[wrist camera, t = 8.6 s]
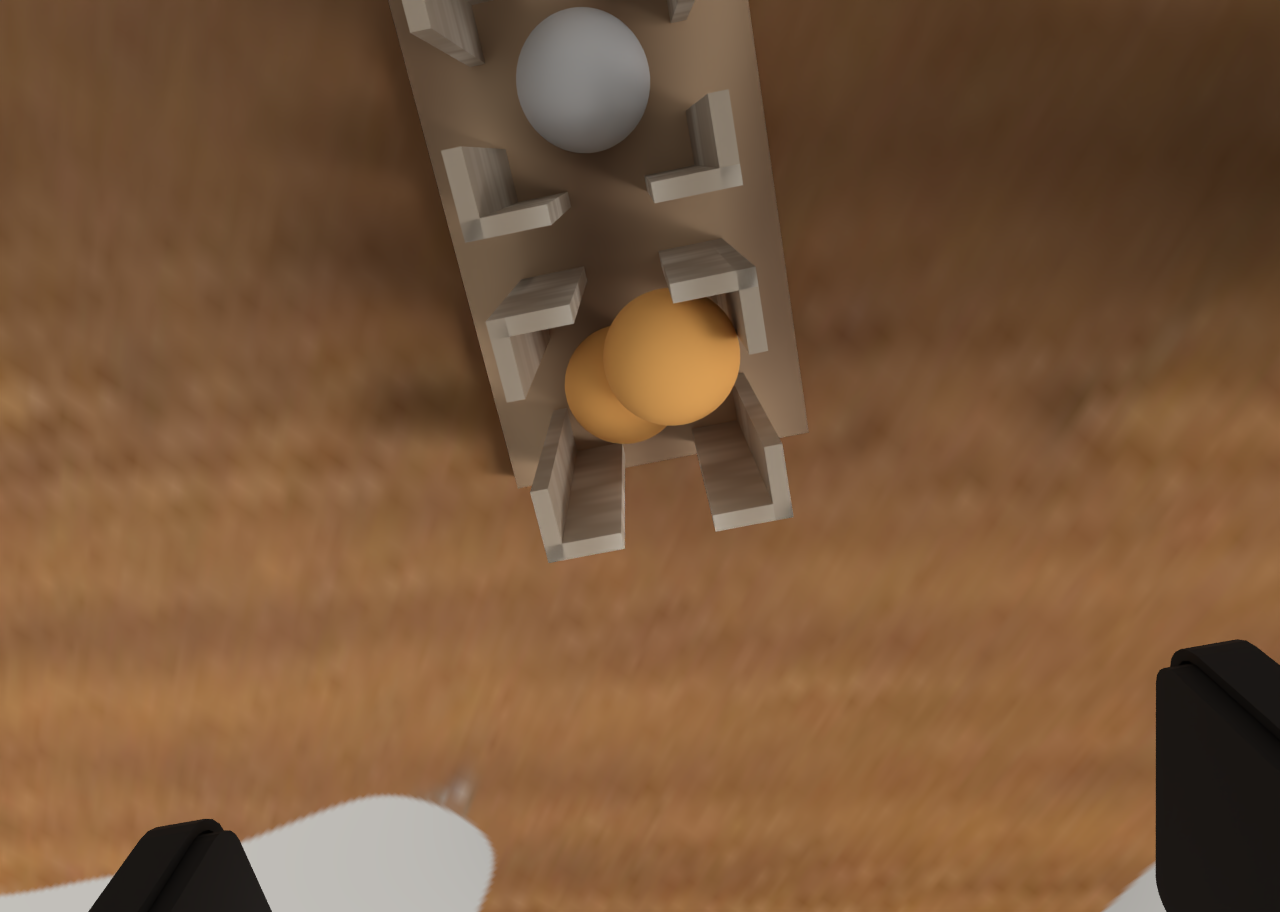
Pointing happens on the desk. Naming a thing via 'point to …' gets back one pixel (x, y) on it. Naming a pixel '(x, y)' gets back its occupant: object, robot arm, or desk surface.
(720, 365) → the orange ball
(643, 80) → the grey ball
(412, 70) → the ball rack
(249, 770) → the desk surface
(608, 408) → the seated orange ball
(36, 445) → the desk surface
